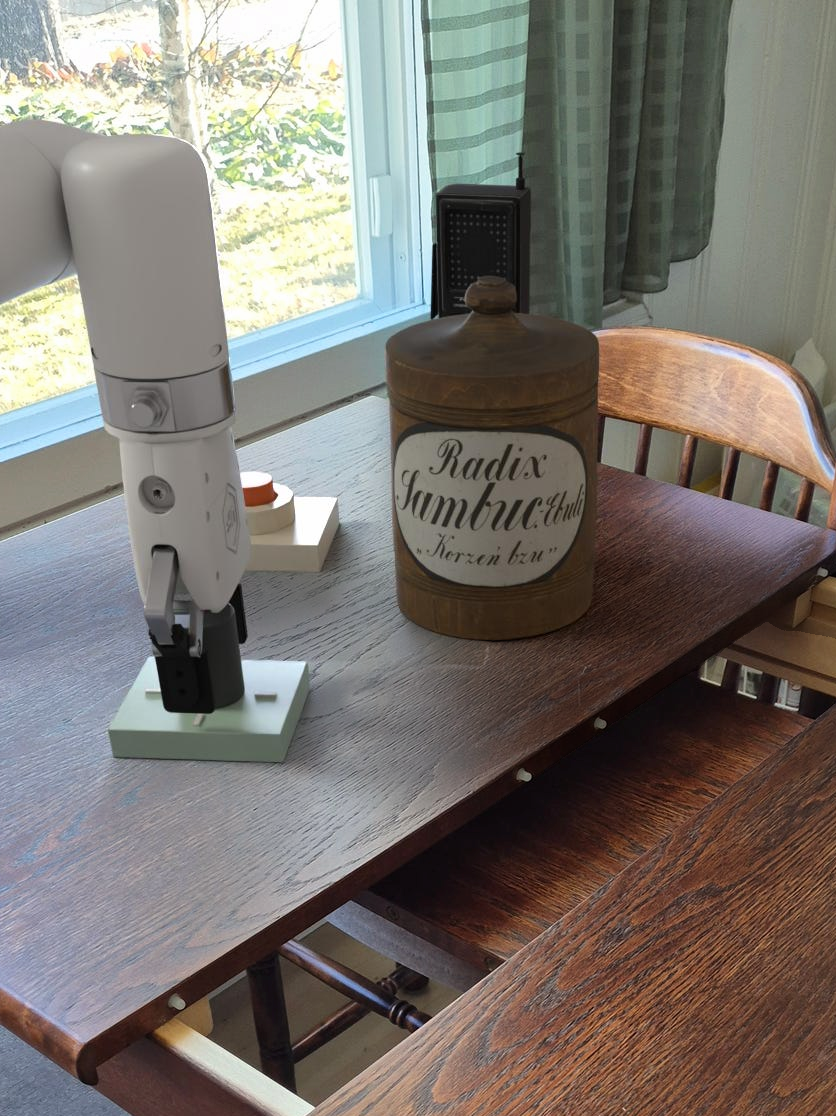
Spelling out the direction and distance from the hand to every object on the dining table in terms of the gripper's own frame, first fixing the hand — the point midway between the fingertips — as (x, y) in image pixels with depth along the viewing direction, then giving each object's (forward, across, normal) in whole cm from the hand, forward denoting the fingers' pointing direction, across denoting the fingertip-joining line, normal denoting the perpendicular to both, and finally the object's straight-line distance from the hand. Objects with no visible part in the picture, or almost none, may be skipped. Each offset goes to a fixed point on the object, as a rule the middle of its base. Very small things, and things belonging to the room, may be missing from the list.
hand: (208, 674), depth 92 cm
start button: (0, +29, +3) cm, 29 cm away
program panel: (+3, 0, 0) cm, 3 cm away
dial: (+1, 0, 0) cm, 1 cm away
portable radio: (+4, +44, -14) cm, 46 cm away
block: (+3, +29, +3) cm, 29 cm away
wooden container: (+4, +20, -17) cm, 26 cm away
